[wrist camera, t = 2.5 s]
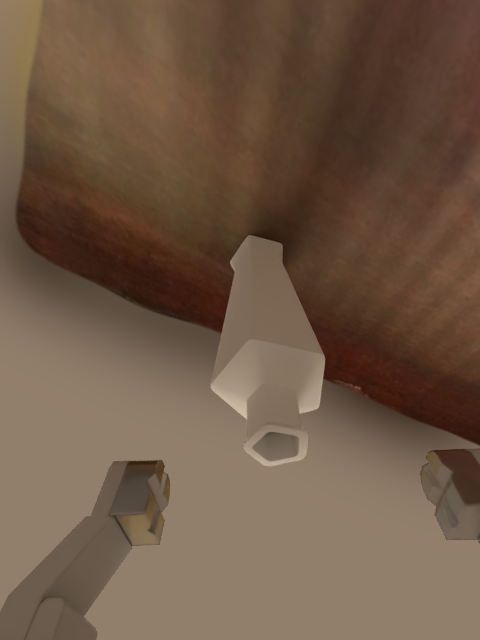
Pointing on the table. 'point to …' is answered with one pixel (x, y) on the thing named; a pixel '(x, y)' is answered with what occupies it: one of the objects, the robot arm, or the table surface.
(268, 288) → the perfume bottle
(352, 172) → the table surface
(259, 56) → the table surface
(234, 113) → the table surface
